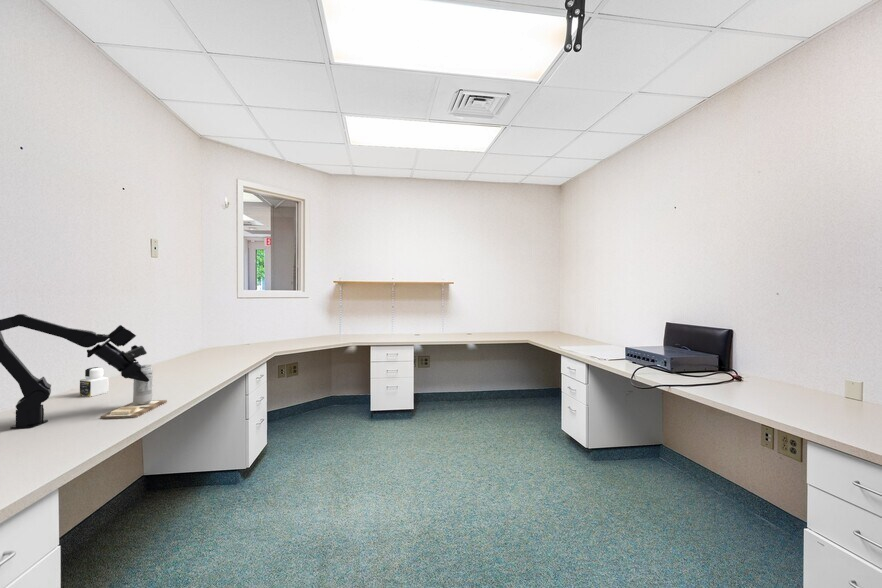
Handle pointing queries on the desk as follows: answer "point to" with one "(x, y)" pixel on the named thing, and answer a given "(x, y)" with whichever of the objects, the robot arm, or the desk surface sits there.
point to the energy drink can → (143, 387)
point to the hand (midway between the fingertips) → (147, 379)
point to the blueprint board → (133, 409)
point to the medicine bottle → (94, 382)
